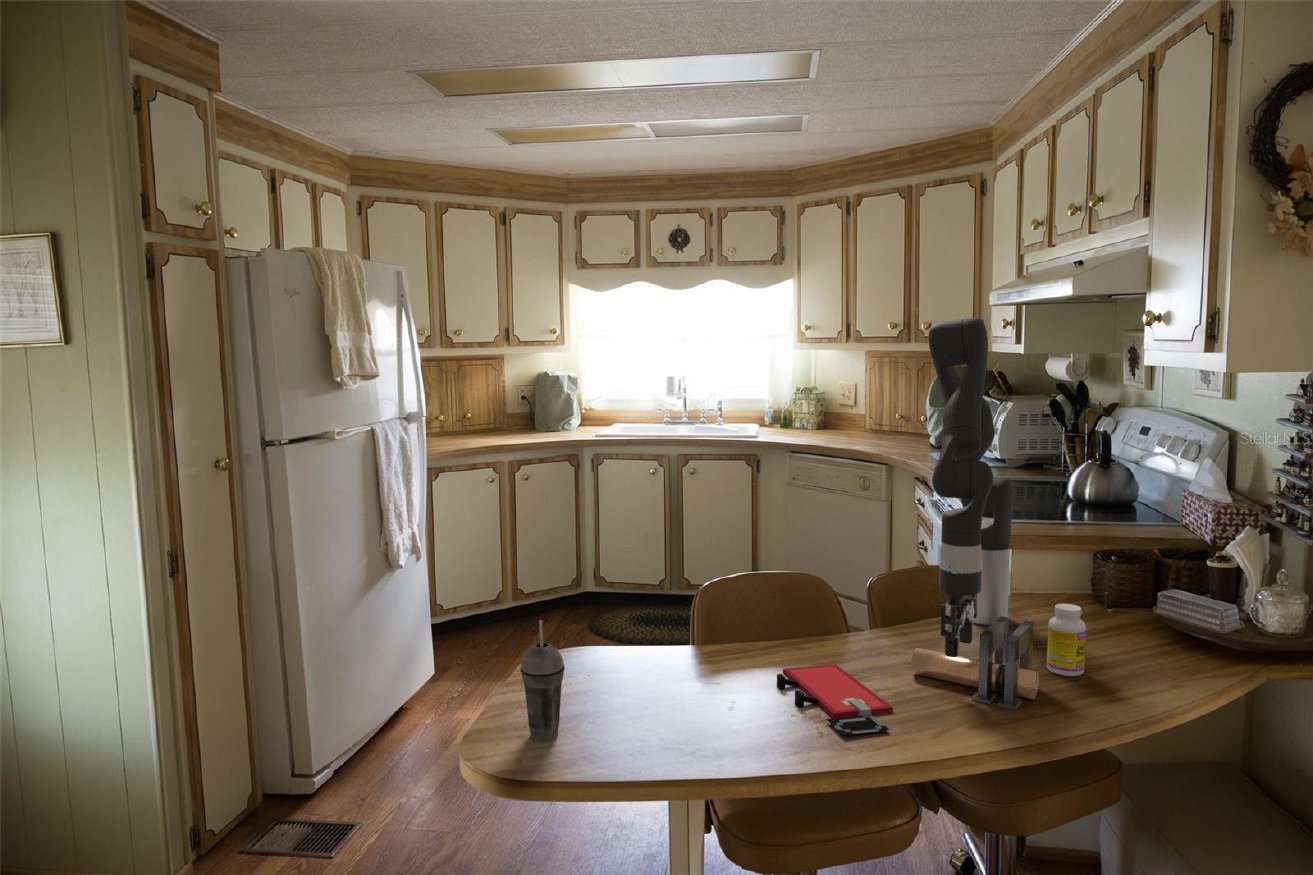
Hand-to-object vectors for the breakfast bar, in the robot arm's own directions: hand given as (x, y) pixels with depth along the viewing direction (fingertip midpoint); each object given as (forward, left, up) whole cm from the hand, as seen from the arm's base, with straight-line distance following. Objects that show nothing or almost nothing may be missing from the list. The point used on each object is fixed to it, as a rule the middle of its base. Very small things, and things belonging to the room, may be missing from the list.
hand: (958, 649), depth 171 cm
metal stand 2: (0, +11, -6) cm, 13 cm away
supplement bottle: (-17, +15, -6) cm, 24 cm away
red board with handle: (+22, -15, -7) cm, 27 cm away
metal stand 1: (0, +6, -6) cm, 9 cm away
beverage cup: (+62, -49, -6) cm, 79 cm away
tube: (0, +3, -6) cm, 7 cm away
